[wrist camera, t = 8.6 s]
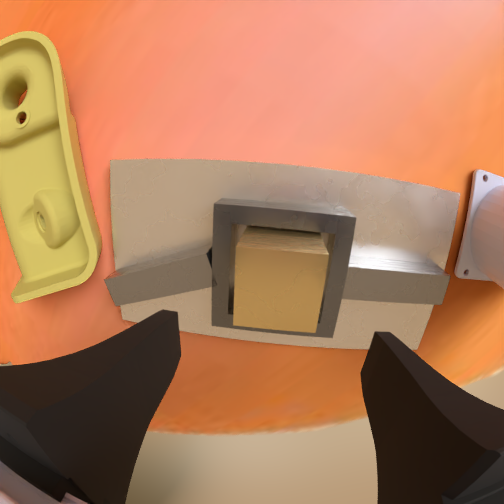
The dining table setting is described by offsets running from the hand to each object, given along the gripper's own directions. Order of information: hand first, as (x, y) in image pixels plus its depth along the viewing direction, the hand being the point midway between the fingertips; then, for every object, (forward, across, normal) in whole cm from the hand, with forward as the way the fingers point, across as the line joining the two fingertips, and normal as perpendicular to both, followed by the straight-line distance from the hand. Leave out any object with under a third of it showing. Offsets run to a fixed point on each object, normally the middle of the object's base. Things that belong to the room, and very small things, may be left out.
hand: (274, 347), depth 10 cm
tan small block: (+8, 0, 0) cm, 8 cm away
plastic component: (+10, +19, -6) cm, 22 cm away
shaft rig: (+9, 0, 0) cm, 9 cm away
